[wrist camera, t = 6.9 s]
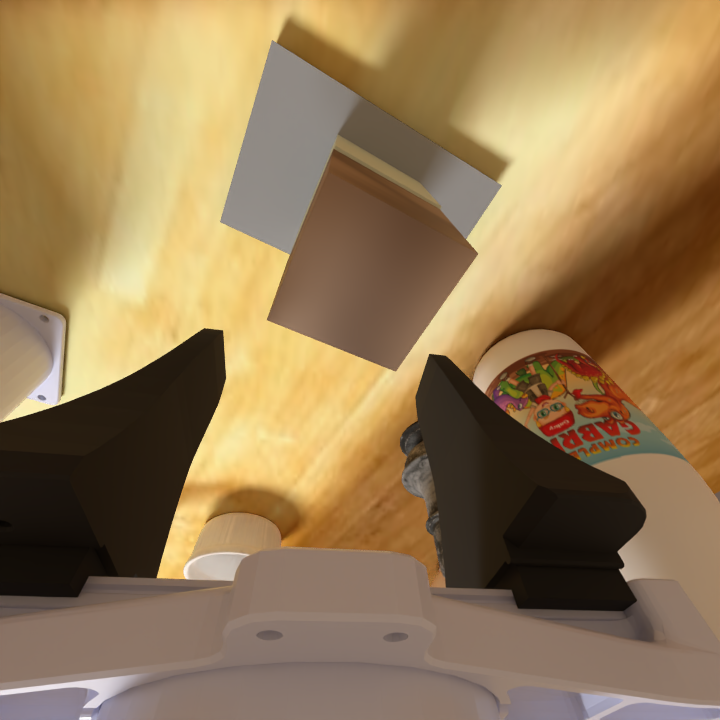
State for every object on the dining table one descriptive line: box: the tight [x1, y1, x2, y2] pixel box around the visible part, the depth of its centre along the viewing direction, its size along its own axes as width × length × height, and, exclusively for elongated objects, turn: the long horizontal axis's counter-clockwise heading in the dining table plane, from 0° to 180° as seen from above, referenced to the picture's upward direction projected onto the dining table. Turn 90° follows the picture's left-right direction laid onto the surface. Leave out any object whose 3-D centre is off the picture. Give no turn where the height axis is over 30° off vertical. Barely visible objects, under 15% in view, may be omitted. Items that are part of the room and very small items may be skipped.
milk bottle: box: [473, 329, 720, 642], centre depth 19 cm, size 8×8×20 cm
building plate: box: [220, 40, 502, 254], centre depth 19 cm, size 12×8×1 cm, turn 63°
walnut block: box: [267, 149, 478, 371], centre depth 13 cm, size 4×4×5 cm
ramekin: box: [184, 513, 281, 581], centre depth 36 cm, size 9×9×4 cm
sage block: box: [291, 134, 441, 252], centre depth 17 cm, size 4×4×5 cm
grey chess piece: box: [400, 422, 445, 578], centre depth 26 cm, size 6×6×12 cm
